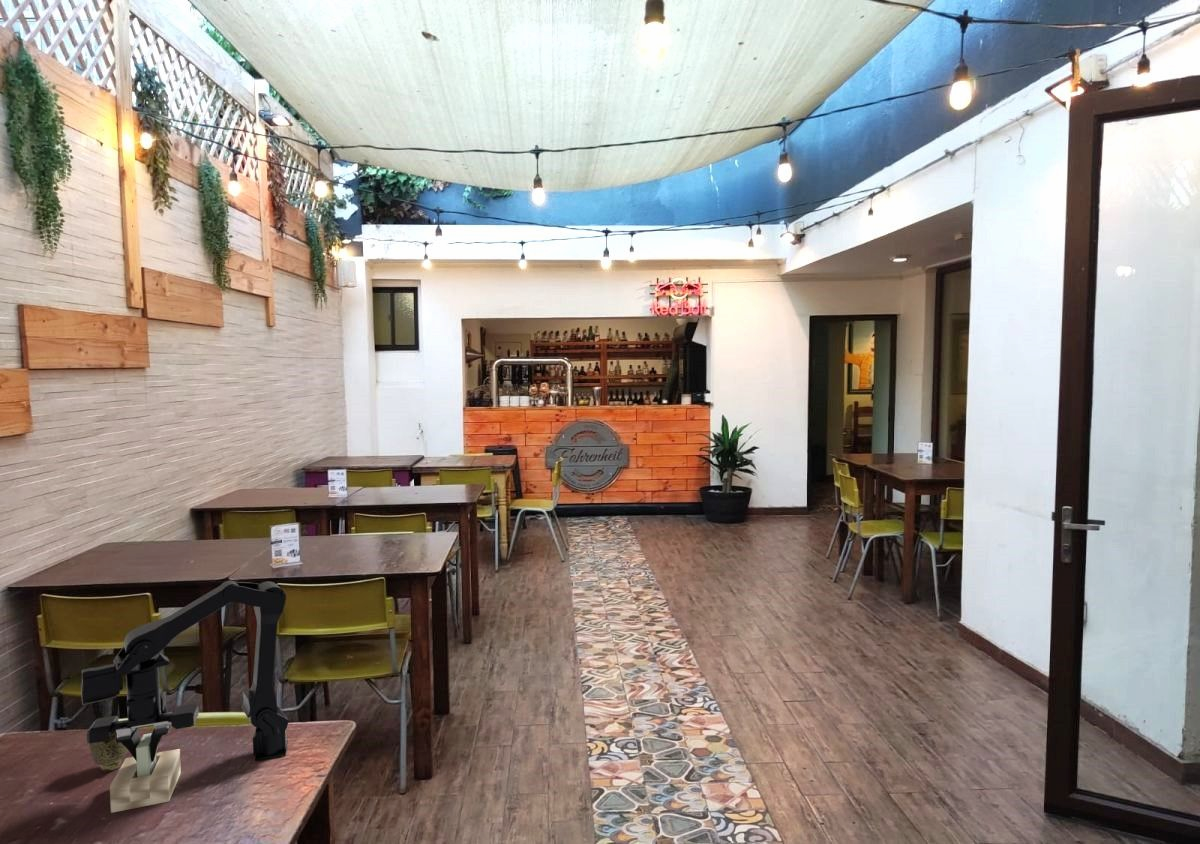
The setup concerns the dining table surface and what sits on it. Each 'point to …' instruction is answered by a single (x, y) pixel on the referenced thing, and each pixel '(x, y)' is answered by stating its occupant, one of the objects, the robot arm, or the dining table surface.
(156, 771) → the hollow square frame
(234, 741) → the dining table surface
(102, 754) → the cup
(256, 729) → the robot arm
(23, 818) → the dining table surface
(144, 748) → the green rectangular block
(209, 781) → the dining table surface
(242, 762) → the dining table surface
